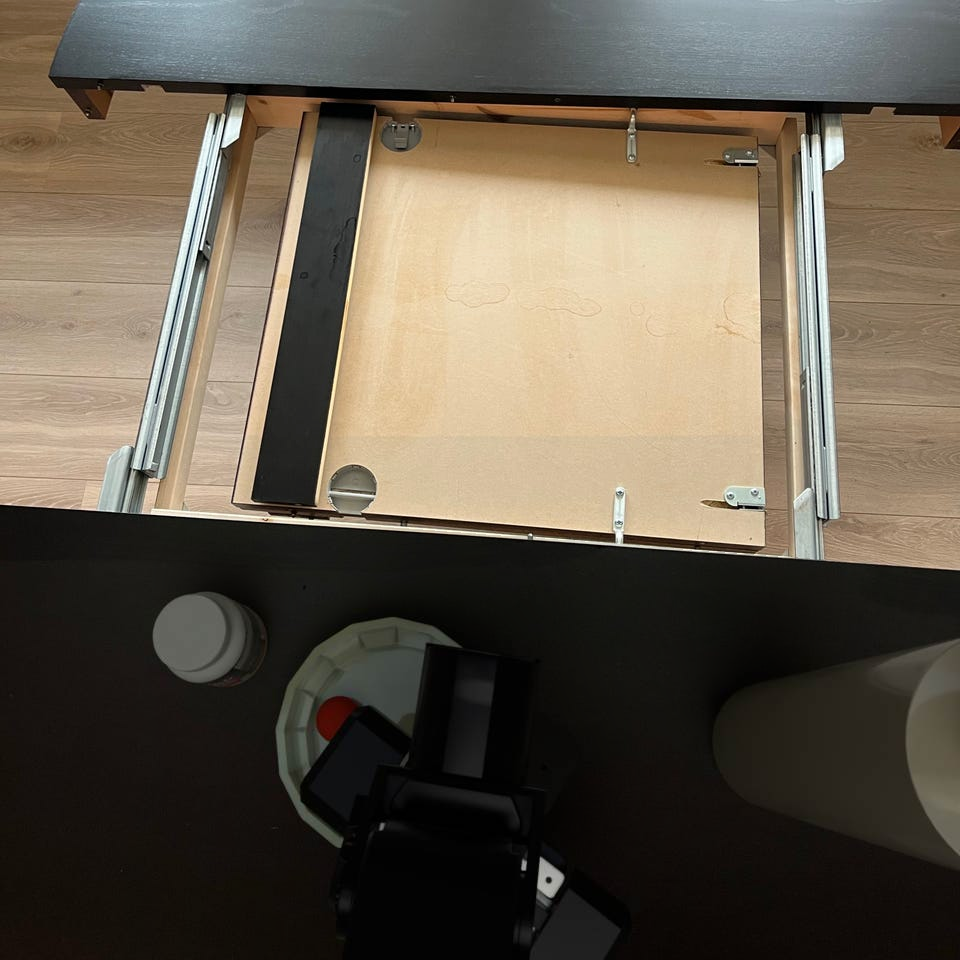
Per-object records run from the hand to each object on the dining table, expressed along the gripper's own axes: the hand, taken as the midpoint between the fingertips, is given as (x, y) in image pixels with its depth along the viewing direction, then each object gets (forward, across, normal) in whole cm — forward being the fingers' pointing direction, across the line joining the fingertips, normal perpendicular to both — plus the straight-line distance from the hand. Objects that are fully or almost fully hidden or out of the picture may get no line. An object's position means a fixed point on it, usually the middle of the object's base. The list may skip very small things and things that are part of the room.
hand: (468, 836), depth 66 cm
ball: (+3, +11, 0) cm, 12 cm away
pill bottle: (+5, +21, 0) cm, 21 cm away
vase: (+4, -13, -16) cm, 21 cm away
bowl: (+5, +8, -2) cm, 9 cm away
